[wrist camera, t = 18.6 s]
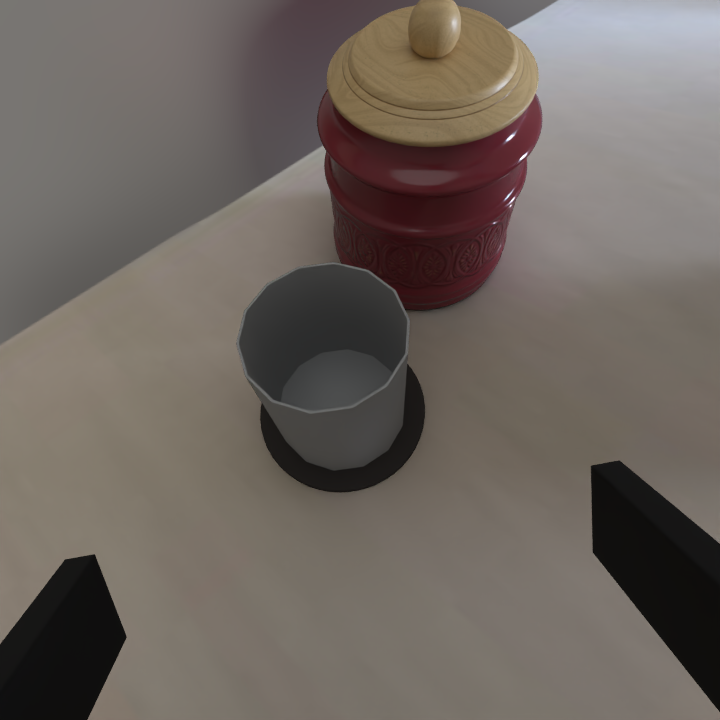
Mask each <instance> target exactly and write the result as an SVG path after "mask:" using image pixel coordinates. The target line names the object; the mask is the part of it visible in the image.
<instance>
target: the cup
mask: <svg viewBox="0 0 720 720" xmlns="http://www.w3.org/2000/svg"><path fill="white" fill-rule="evenodd" d="M409 328H410V319H409V317H408V315H407V313H406V311H405V309H404V307H403V305H402V303H401V301H400V298H399V296H398V294H397V292H396V290H395V289H393V288H392V287H390V286H389V285H388V284H386V283H385V282H384V281H382V280H381V279H380V278H378V277H377V276H376V275H374V274H373V273H372V272H370V271H369V270H366V269H362V268H358V267H353V266H349V265H345V264H341V263H336V262H330V263H323V264H315V265H308V266H300V267H297V268H295V269H293V270H291V271H290V272H288V273H286V274H284V275H282V276H280V277H278V278H276V279H275V280H273V281H271V282H269V283H267V284H266V285H265V286H264V288H263V289H262V290H261V291H260V292H259V294H258V295H257V296H256V297H255V298H254V300H253V301H252V302H251V303H250V304H249V306H248V307H247V308H246V309H245V310H244V314H243V318H242V322H241V326H240V330H239V334H238V338H237V342H236V345H237V348H238V352H239V355H240V359H241V362H242V366H243V370H244V373H245V377H246V378H247V380H248V381H249V383H250V385H251V386H252V388H253V389H254V391H255V393H256V394H257V396H258V397H259V399H260V401H261V402H262V404H263V405H264V407H265V408H266V410H267V412H268V413H269V415H270V416H271V418H272V420H273V421H274V423H275V424H276V426H277V428H278V429H279V431H280V432H281V434H282V436H283V437H284V439H285V440H286V442H287V443H288V444H289V445H290V446H291V447H292V448H293V449H294V450H295V451H296V452H297V453H298V454H299V455H300V456H301V457H302V458H303V459H304V460H305V461H306V462H309V463H312V464H315V465H318V466H321V467H324V468H327V469H330V470H333V471H335V470H342V469H350V468H357V467H364V466H365V465H367V464H368V463H370V462H371V461H373V460H374V459H376V458H377V457H379V456H380V455H382V454H383V453H385V452H386V451H388V450H389V448H390V446H391V445H392V443H393V441H394V440H395V438H396V436H397V435H398V433H399V431H400V430H401V428H402V426H403V414H404V400H405V387H406V373H407V360H408V344H409Z"/></svg>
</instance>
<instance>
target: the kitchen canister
mask: <svg viewBox="0 0 720 720" xmlns="http://www.w3.org/2000/svg"><path fill="white" fill-rule="evenodd" d="M537 86H538V67H537V63H536V61H535V58H534V56H533V55H532V53H531V51H530V50H529V48H528V47H527V46H526V45H525V44H524V43H523V42H522V41H521V40H520V39H519V38H518V37H517V36H515V35H514V34H513V33H511V32H510V31H508V30H507V29H506V28H504V26H503V25H501V24H500V23H499V22H498V21H496V20H495V19H493V18H491V17H490V16H488V15H486V14H484V13H481V12H479V11H476V10H473V9H469V8H465V7H461V6H457V5H456V4H455V2H454V1H453V0H420V1H419V2H418V3H417V4H416V6H411V7H406V8H402V9H399V10H395V11H392V12H390V13H388V14H385V15H383V16H381V17H379V18H377V19H376V20H374V21H372V22H371V23H370V24H368V26H366V27H365V28H364V29H362V30H360V31H359V32H357V33H356V34H354V35H353V36H352V37H350V38H349V39H348V40H347V41H346V42H344V43H343V44H342V45H341V47H340V48H339V49H338V50H337V52H336V53H335V55H334V56H333V58H332V60H331V62H330V65H329V68H328V73H327V87H328V89H327V91H326V92H325V94H324V96H323V98H322V100H321V103H320V106H319V110H318V116H317V126H318V132H319V136H320V139H321V142H322V144H323V146H324V148H325V150H326V155H325V164H324V167H325V176H326V180H327V184H328V186H329V189H330V194H331V201H332V208H333V215H334V239H335V245H336V250H337V254H338V256H339V259H340V261H341V263H342V264H345V265H349V266H353V267H358V268H362V269H366V270H369V271H370V272H372V273H373V274H374V275H376V276H377V277H378V278H380V279H381V280H382V281H384V282H385V283H386V284H388V285H389V286H390V287H392V288H393V289H395V290H396V292H397V294H398V296H399V298H400V301H401V303H402V305H403V307H404V309H412V310H426V309H435V308H440V307H444V306H448V305H451V304H454V303H456V302H458V301H461V300H463V299H464V298H466V297H468V296H469V295H471V294H472V293H474V292H475V291H476V290H477V289H478V288H479V287H481V286H482V284H483V283H484V282H485V281H486V280H487V278H488V277H489V275H490V274H491V273H492V271H493V270H494V268H495V267H496V265H497V264H498V261H499V259H500V257H501V254H502V251H503V248H504V245H505V241H506V232H507V227H508V224H509V221H510V217H511V214H512V211H513V208H514V205H515V201H516V199H517V197H518V195H519V194H520V192H521V190H522V188H523V185H524V182H525V178H526V173H527V157H528V156H529V154H530V153H531V152H532V150H533V149H534V147H535V145H536V143H537V141H538V138H539V136H540V133H541V128H542V110H541V105H540V102H539V99H538V97H537V95H536V90H537Z"/></svg>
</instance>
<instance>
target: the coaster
mask: <svg viewBox="0 0 720 720" xmlns="http://www.w3.org/2000/svg"><path fill="white" fill-rule="evenodd" d="M424 418H425V405H424V397H423V393H422V390H421V386H420V384H419V382H418V379H417V377H416V376H415V374H414V372H413V371H412V369H411V368H410V367H409V365H408V364H407V373H406V387H405V400H404V414H403V426H402V428H401V430H400V431H399V433H398V435H397V436H396V438H395V440H394V441H393V443H392V445H391V446H390V448H389V450H388V451H386V452H385V453H383V454H382V455H380V456H379V457H377V458H376V459H374V460H373V461H371V462H370V463H368V464H367V465H365V466H364V467H357V468H350V469H342V470H335V471H333V470H330V469H327V468H324V467H321V466H318V465H315V464H312V463H309V462H306V461H305V460H304V459H303V458H302V457H301V456H300V455H299V454H298V453H297V452H296V451H295V450H294V449H293V448H292V447H291V446H290V445H289V444H288V443H287V442H286V440H285V439H284V437H283V436H282V434H281V432H280V431H279V429H278V428H277V426H276V424H275V423H274V421H273V420H272V418H271V416H270V415H269V413H268V412H267V410H266V408H265V407H264V405H263V404H262V405H261V418H260V420H261V429H262V433H263V437H264V440H265V443H266V445H267V448H268V450H269V451H270V453H271V455H272V456H273V458H274V459H275V461H276V462H277V463H278V464H279V466H280V467H281V468H282V469H283V470H284V471H285V472H287V473H288V474H289V475H290V476H292V477H293V478H294V479H296V480H297V481H299V482H301V483H303V484H305V485H307V486H310V487H313V488H316V489H319V490H324V491H329V492H350V491H356V490H361V489H365V488H368V487H370V486H373V485H376V484H378V483H380V482H381V481H383V480H385V479H387V478H388V477H390V476H391V475H392V474H394V473H395V472H396V471H397V470H398V469H399V468H401V467H402V466H403V465H404V463H405V462H406V461H407V460H408V459H409V457H410V456H411V454H412V453H413V451H414V450H415V448H416V446H417V444H418V441H419V439H420V436H421V433H422V429H423V424H424Z"/></svg>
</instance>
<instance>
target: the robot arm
mask: <svg viewBox="0 0 720 720" xmlns="http://www.w3.org/2000/svg"><path fill="white" fill-rule="evenodd" d="M591 488H592V537H593V553H594V554H595V556H596V557H597V558H598V559H599V561H600V562H601V563H602V564H603V566H604V567H605V568H606V570H607V571H608V572H609V573H610V575H611V576H612V577H613V578H614V580H615V581H616V582H617V583H618V585H619V586H620V587H621V588H622V590H623V591H624V592H625V593H626V595H627V596H628V597H629V598H630V600H631V601H632V602H633V603H634V605H635V606H636V607H637V608H638V610H639V611H640V612H641V614H642V615H643V616H644V617H645V619H646V620H647V621H648V622H649V624H650V625H651V626H652V627H653V629H654V630H655V631H656V632H657V634H658V635H659V636H660V637H661V639H662V640H663V641H664V642H665V644H666V645H667V646H668V647H669V649H670V650H671V651H672V652H673V654H674V655H675V656H676V658H677V659H678V660H679V661H680V663H681V664H682V665H683V666H684V668H685V669H686V670H687V671H688V673H689V674H690V675H691V676H692V678H693V679H694V680H695V681H696V683H697V684H698V685H699V686H700V688H701V689H702V690H703V691H704V693H705V694H706V695H707V696H708V698H709V699H710V700H711V702H712V703H713V704H714V705H715V707H716V708H717V709H718V710H719V712H720V544H719V543H718V542H717V541H716V540H715V539H713V538H712V537H711V536H710V535H709V534H707V533H706V532H705V531H704V530H703V529H701V528H700V527H699V526H698V525H697V524H695V523H694V522H693V521H692V520H691V519H689V518H688V517H687V516H686V515H684V514H683V513H682V512H681V511H680V510H678V509H677V508H676V507H675V506H674V505H672V504H671V503H670V502H669V501H668V500H666V499H665V498H664V497H663V496H662V495H660V494H659V493H658V492H657V491H656V490H654V489H653V488H652V487H651V486H650V485H648V484H647V483H646V482H645V481H643V480H642V479H641V478H640V477H639V476H637V475H636V474H635V473H634V472H633V471H631V470H630V469H629V468H628V467H627V466H625V465H624V464H623V463H622V462H621V461H614V462H609V463H603V464H598V465H592V466H591ZM126 638H127V637H126V634H125V631H124V629H123V626H122V624H121V621H120V618H119V616H118V613H117V611H116V608H115V606H114V603H113V600H112V598H111V595H110V593H109V590H108V587H107V585H106V582H105V580H104V577H103V575H102V572H101V569H100V567H99V564H98V562H97V559H96V556H95V554H94V555H88V556H83V557H77V558H71V559H66V560H64V562H63V563H62V564H61V566H60V567H59V568H58V570H57V571H56V572H55V574H54V575H53V576H52V577H51V579H50V580H49V581H48V583H47V584H46V585H45V587H44V588H43V589H42V590H41V592H40V593H39V594H38V596H37V597H36V598H35V600H34V601H33V602H32V604H31V605H30V606H29V607H28V609H27V610H26V611H25V613H24V614H23V615H22V617H21V618H20V619H19V621H18V622H17V623H16V624H15V626H14V627H13V628H12V630H11V631H10V632H9V634H8V635H7V636H6V638H5V639H4V640H3V641H2V643H1V644H0V720H87V719H88V717H89V715H90V713H91V711H92V709H93V707H94V705H95V702H96V700H97V698H98V696H99V694H100V692H101V690H102V688H103V686H104V684H105V682H106V679H107V677H108V675H109V673H110V671H111V669H112V667H113V665H114V663H115V661H116V658H117V656H118V654H119V652H120V650H121V648H122V646H123V644H124V642H125V640H126Z"/></svg>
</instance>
